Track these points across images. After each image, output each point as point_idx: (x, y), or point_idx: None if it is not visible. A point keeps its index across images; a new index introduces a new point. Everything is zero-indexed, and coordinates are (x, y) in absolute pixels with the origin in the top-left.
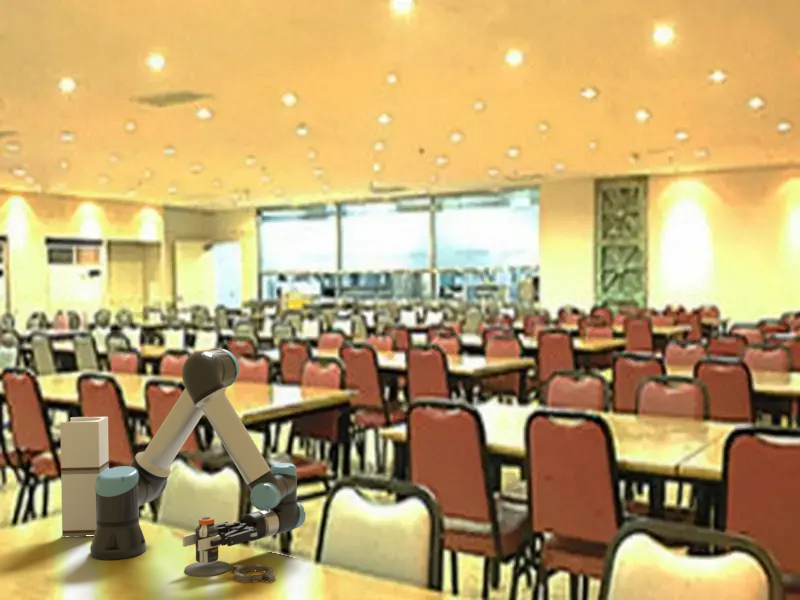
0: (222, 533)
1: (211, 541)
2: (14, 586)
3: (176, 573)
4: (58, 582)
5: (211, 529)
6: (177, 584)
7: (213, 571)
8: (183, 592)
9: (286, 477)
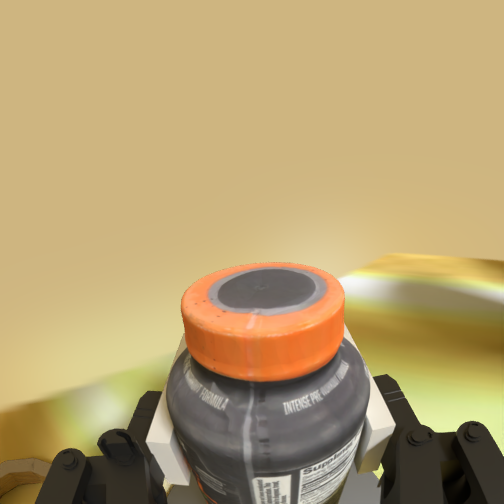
0: (113, 432)
1: (160, 393)
2: (415, 257)
3: None
4: (409, 277)
5: (177, 359)
6: None
7: (200, 497)
8: (156, 363)
9: None
